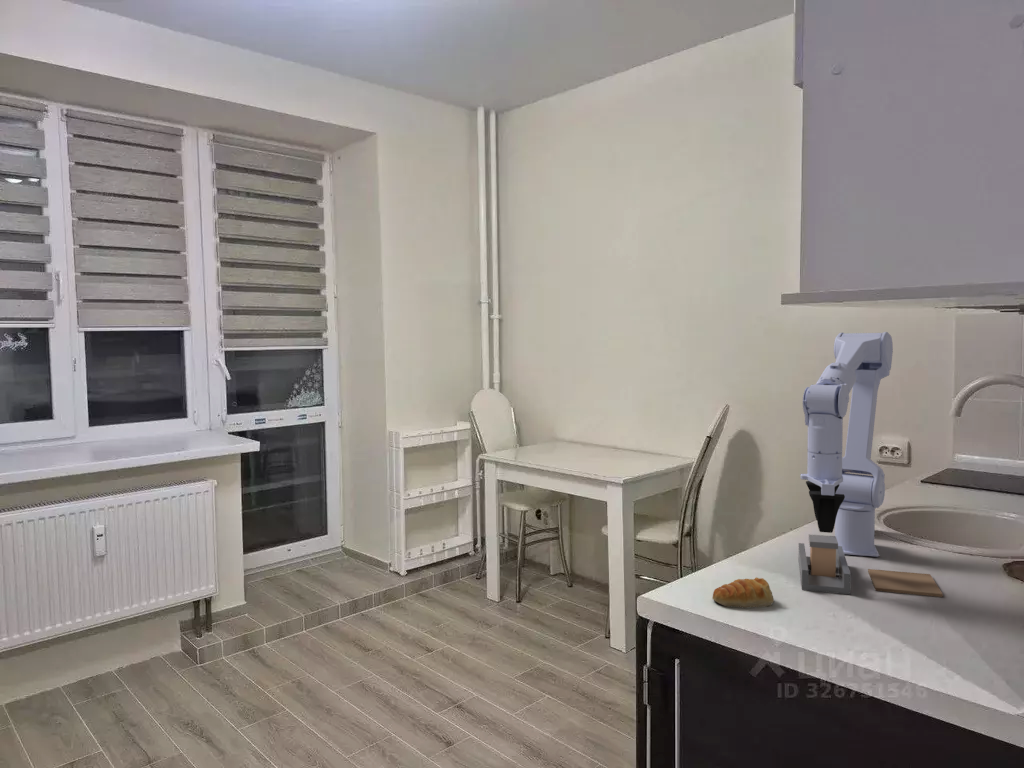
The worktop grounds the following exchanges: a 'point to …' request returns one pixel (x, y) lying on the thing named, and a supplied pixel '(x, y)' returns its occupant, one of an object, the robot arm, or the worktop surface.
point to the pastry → (744, 593)
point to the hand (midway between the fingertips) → (824, 526)
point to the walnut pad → (904, 582)
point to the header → (824, 582)
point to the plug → (823, 555)
